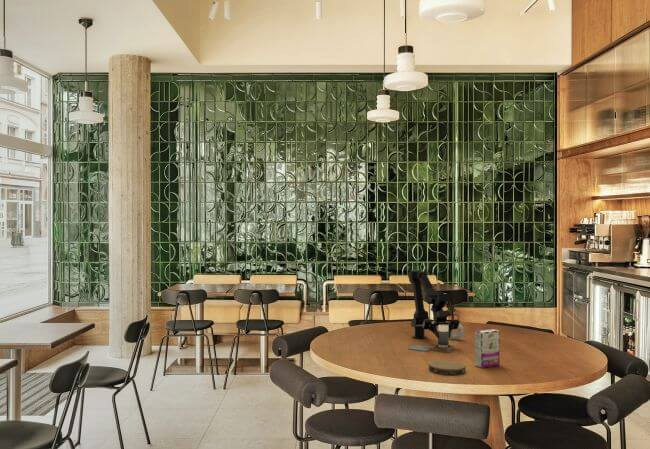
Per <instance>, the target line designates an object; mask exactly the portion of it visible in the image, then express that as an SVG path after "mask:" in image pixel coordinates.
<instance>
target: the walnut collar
mask: <svg viewBox="0 0 650 449" xmlns="http://www.w3.org/2000/svg"><path fill="white" fill-rule="evenodd" d="M431 347H432V349H431V351H433V352H441V353H448V354H449V353H450V352H452V351H454V350H455V345H452V344H449V345H448V348H443V347H438V343H436V344H434V345H433V346H431Z"/></svg>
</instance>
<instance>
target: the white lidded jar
mask: <svg viewBox="0 0 650 449" xmlns="http://www.w3.org/2000/svg"><path fill="white" fill-rule="evenodd" d="M437 327H438V328H437V331H438V334H439V338H437V344H438V347H443V348H448V345H450V342H449V341H450V340H449V339H450V338H449V331H448V330H449V325H446V324H439V325H438V326H437Z"/></svg>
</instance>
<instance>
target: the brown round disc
mask: <svg viewBox="0 0 650 449" xmlns="http://www.w3.org/2000/svg"><path fill="white" fill-rule="evenodd" d="M428 364H429V365H428V370H429V372H431V373H434V374H436V375H442V376H461V375H464V374H465V373H466V364H464V363H462V362H459V361H455V360H454V361H453V360H446V359H445V360H442V359H441V360H433V361H430V362H428Z"/></svg>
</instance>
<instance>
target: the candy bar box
mask: <svg viewBox="0 0 650 449" xmlns="http://www.w3.org/2000/svg"><path fill="white" fill-rule="evenodd" d="M500 360H501V359H500V330H498V329H493V328H492V329H491V328H490V329H483V330H475V331H474V362H475V363H474V365H475V366H476V367H478V368H482V369H483V368H484V369H485V368H490V367H491V366H492V367H497V366H498V365H499V366H500ZM492 367H491V368H492Z"/></svg>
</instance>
